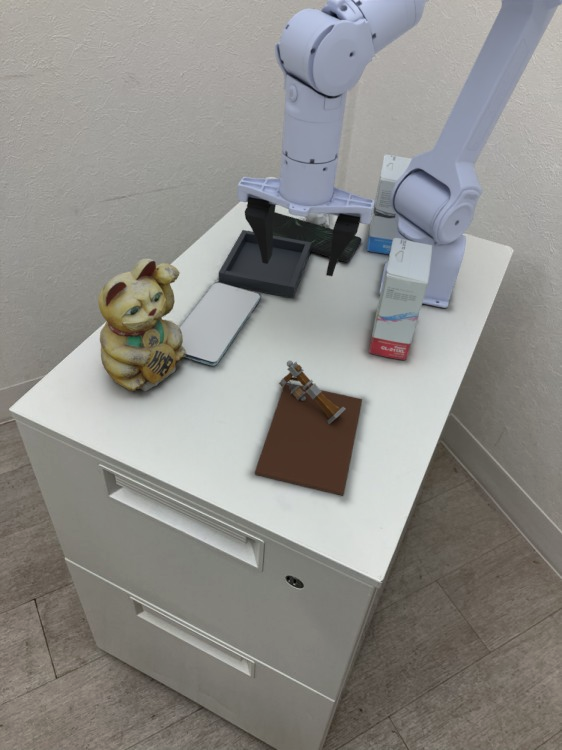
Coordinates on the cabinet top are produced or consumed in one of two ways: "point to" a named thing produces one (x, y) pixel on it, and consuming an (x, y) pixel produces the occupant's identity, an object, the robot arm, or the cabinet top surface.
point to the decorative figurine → (140, 326)
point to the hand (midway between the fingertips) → (298, 265)
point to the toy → (318, 218)
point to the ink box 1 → (385, 205)
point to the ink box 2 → (401, 298)
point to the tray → (266, 265)
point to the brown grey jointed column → (309, 390)
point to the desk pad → (310, 442)
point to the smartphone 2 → (311, 235)
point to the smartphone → (216, 321)
